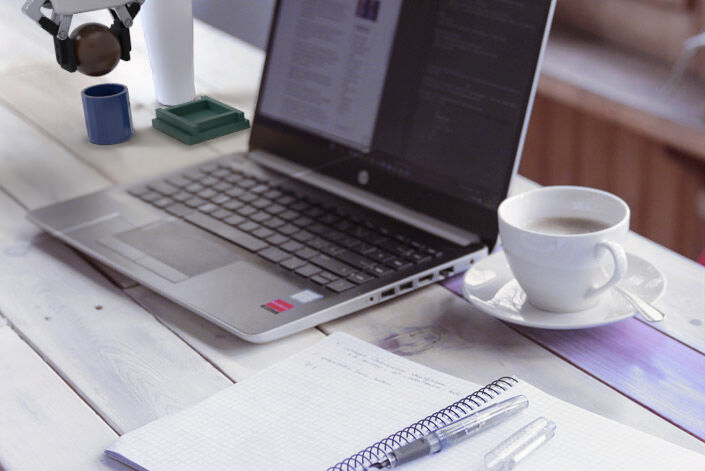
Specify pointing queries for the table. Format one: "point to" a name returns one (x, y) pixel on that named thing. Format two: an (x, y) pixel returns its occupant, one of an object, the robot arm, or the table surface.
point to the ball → (96, 49)
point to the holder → (199, 120)
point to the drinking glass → (170, 48)
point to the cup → (107, 113)
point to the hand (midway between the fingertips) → (95, 63)
